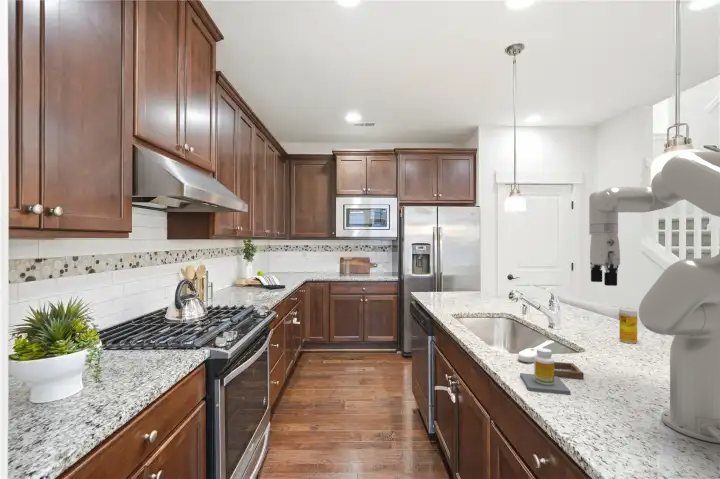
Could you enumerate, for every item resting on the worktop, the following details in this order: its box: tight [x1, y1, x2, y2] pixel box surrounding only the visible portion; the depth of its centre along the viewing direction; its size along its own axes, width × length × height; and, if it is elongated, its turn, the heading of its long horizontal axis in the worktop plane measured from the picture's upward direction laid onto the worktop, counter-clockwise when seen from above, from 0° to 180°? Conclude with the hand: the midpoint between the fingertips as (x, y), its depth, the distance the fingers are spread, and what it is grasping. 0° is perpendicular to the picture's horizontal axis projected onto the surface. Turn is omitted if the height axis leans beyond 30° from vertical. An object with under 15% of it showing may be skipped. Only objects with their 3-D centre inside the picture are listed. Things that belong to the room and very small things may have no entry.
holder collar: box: [554, 361, 585, 380], centre depth 113 cm, size 9×9×2 cm
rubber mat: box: [519, 372, 571, 396], centre depth 104 cm, size 11×11×1 cm
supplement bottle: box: [533, 347, 555, 385], centre depth 104 cm, size 5×5×10 cm
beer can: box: [619, 305, 638, 344], centre depth 149 cm, size 6×6×15 cm
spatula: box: [517, 339, 555, 363], centre depth 132 cm, size 28×6×3 cm, turn 132°
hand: (603, 283), depth 109 cm, fingers open, 9 cm apart
